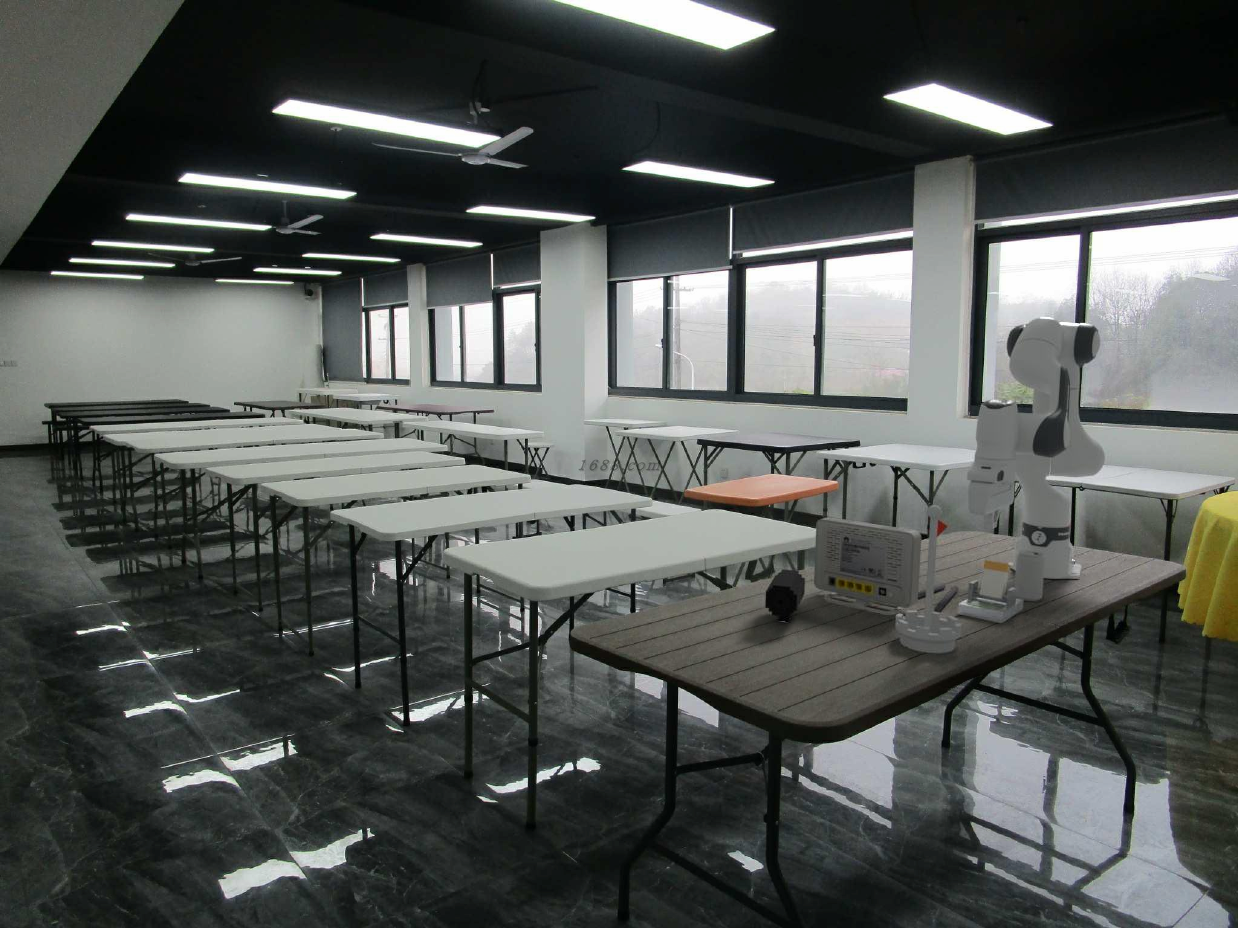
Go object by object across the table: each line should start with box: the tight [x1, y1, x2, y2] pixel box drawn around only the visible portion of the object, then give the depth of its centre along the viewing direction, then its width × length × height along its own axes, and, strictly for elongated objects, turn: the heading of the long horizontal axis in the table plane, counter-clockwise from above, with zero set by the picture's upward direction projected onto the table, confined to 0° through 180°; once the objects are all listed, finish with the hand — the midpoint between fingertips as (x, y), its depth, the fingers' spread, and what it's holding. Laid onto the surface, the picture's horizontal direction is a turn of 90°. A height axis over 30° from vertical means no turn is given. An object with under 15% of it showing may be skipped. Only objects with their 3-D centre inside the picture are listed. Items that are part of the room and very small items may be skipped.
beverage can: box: [1014, 550, 1045, 602], centre depth 207 cm, size 6×6×12 cm
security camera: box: [764, 569, 806, 623], centre depth 189 cm, size 7×18×10 cm, turn 161°
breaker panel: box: [957, 579, 1025, 624], centre depth 196 cm, size 15×10×6 cm, turn 137°
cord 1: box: [918, 582, 946, 599], centre depth 210 cm, size 19×1×1 cm, turn 132°
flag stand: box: [894, 504, 962, 654], centre depth 172 cm, size 13×13×30 cm
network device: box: [813, 516, 922, 616], centre depth 200 cm, size 26×9×20 cm, turn 47°
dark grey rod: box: [933, 585, 959, 613], centre depth 204 cm, size 23×1×1 cm, turn 147°
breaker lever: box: [975, 559, 1011, 603], centre depth 196 cm, size 2×7×9 cm, turn 48°
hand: (990, 528), depth 191 cm, fingers closed
